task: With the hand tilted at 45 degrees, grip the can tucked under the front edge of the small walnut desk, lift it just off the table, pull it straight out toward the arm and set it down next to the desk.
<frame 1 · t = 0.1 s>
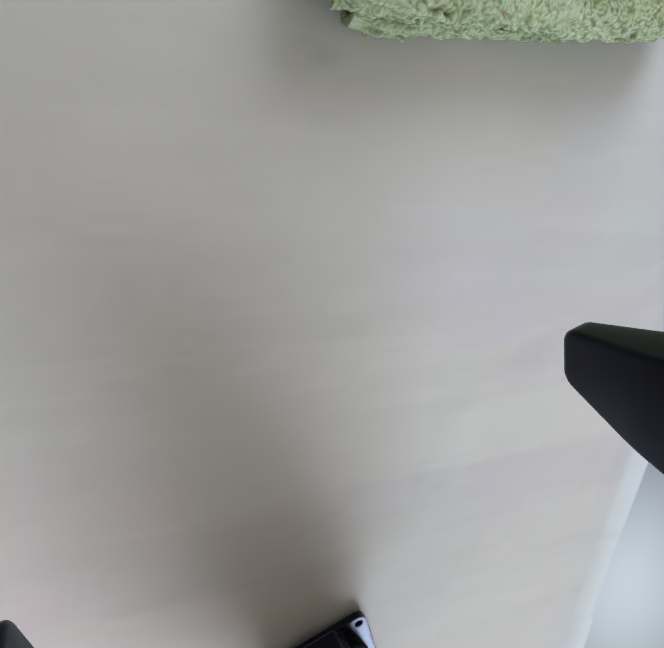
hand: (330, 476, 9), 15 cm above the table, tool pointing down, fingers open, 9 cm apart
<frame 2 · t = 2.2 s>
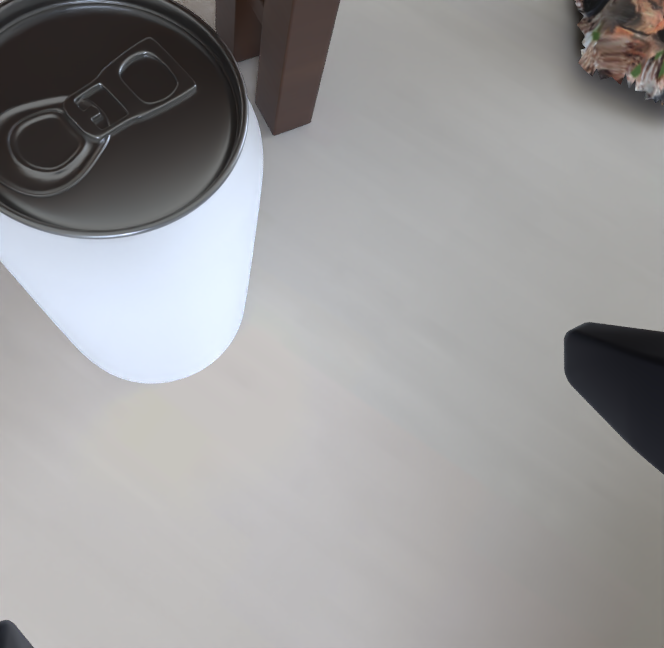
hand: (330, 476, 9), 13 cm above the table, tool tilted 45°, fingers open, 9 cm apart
desk: (97, 177, 24), on the table
plant with pod: (638, 25, 32), on the table
can: (157, 302, 23), on the table
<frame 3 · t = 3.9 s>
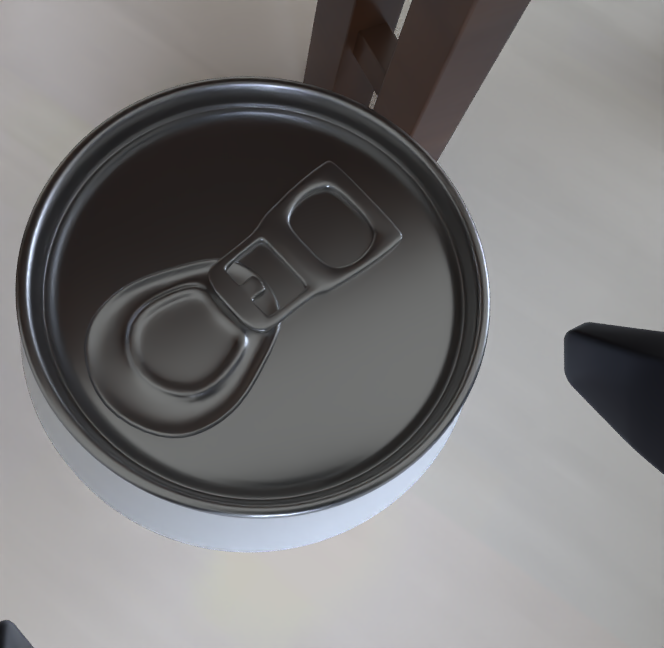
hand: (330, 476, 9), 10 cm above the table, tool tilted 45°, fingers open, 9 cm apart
desk: (168, 268, 20), on the table
can: (241, 425, 19), on the table
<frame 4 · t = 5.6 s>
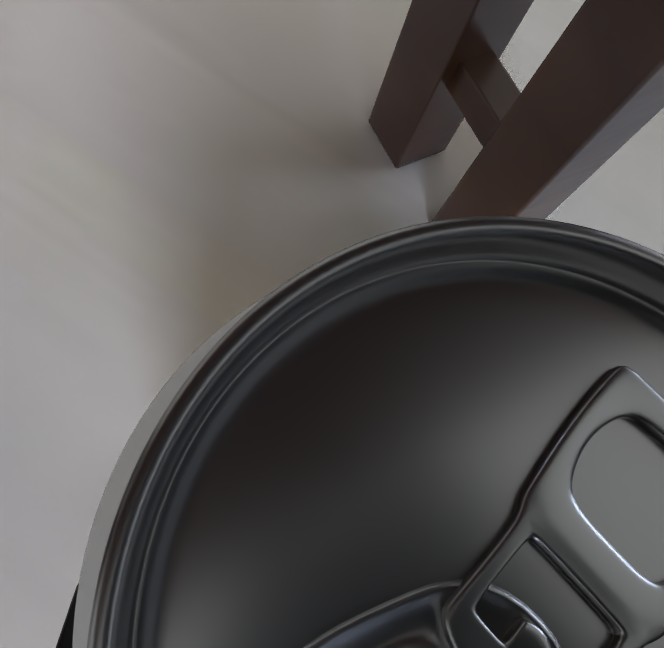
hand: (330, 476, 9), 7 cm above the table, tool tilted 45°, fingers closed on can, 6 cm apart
desk: (216, 349, 16), on the table
can: (309, 548, 15), on the table, touching gripper
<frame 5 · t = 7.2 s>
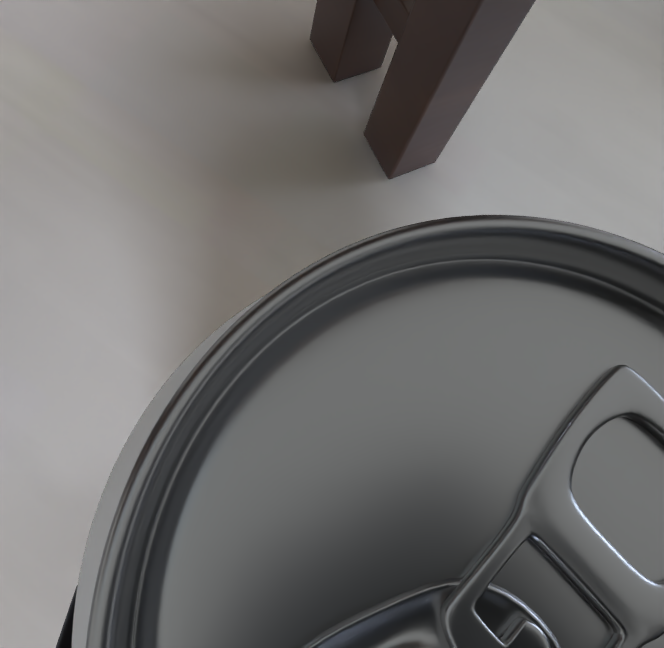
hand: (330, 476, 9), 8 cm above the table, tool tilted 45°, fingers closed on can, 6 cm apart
desk: (160, 236, 18), on the table
can: (308, 547, 15), point 1 cm above the table, touching gripper
when the fingers open (7 cm above the table, at t = 9.3 s): can stays where it is, on the table.
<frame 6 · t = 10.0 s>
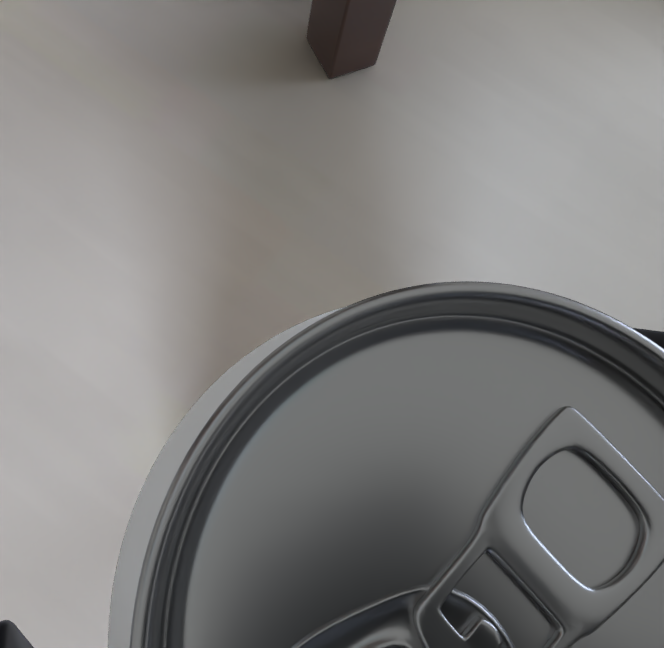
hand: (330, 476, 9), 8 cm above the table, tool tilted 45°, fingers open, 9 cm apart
desk: (107, 124, 19), on the table
can: (307, 552, 16), on the table
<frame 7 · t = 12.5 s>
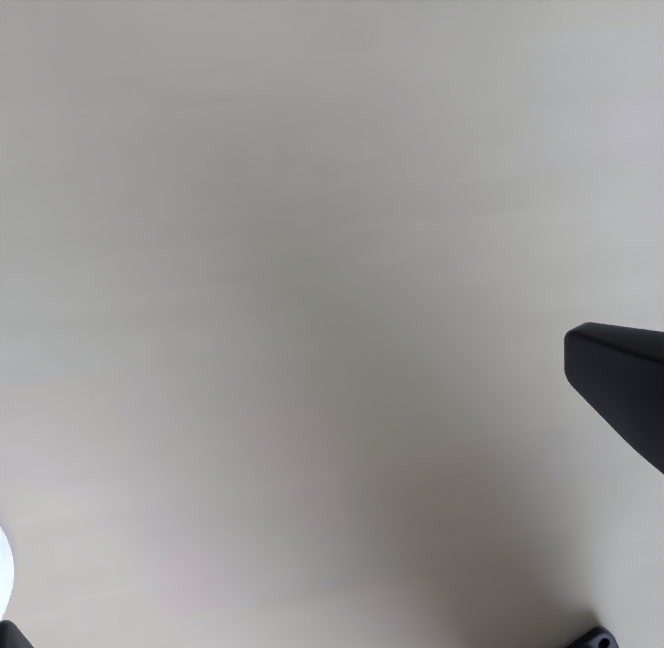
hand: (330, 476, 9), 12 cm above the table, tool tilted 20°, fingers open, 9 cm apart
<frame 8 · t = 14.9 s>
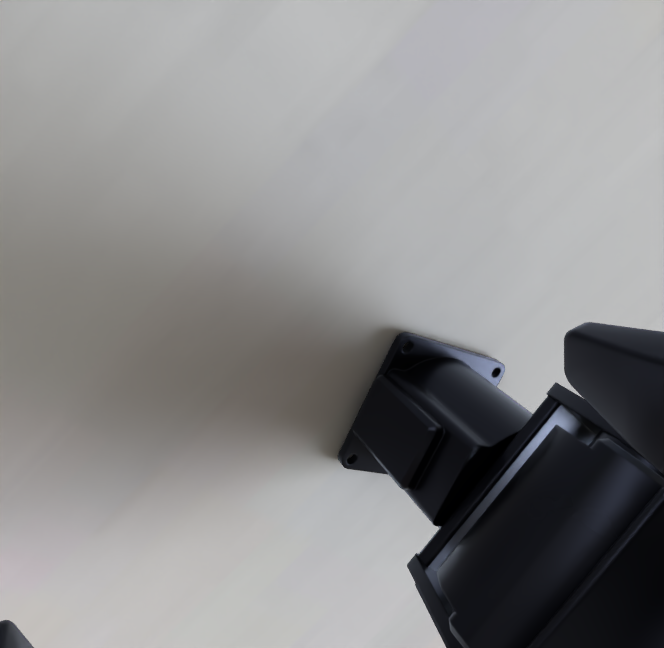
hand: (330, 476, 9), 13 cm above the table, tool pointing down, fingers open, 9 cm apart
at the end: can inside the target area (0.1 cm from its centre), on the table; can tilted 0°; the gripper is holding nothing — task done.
